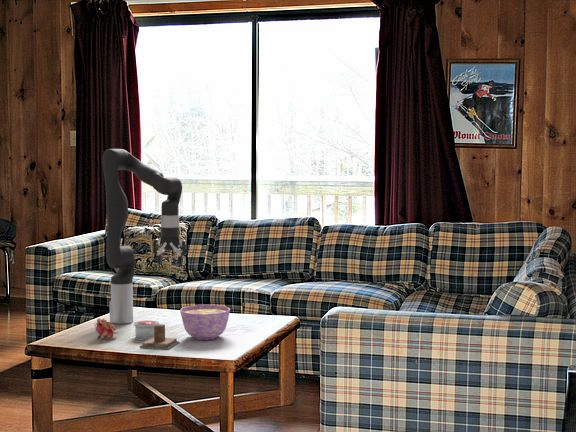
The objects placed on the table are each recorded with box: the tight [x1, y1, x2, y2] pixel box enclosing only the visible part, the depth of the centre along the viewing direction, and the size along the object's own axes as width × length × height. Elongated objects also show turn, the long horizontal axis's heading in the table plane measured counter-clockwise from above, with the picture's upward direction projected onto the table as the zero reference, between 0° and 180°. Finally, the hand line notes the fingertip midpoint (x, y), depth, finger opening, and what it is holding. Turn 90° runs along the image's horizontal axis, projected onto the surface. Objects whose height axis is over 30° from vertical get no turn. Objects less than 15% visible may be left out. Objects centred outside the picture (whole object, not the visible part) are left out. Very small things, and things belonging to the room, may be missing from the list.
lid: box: [141, 323, 178, 347], centre depth 323 cm, size 10×10×7 cm
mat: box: [139, 340, 180, 350], centre depth 323 cm, size 12×11×1 cm
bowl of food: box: [179, 304, 231, 341], centre depth 335 cm, size 20×20×12 cm
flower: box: [94, 318, 119, 340], centre depth 334 cm, size 10×9×8 cm
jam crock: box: [133, 319, 160, 341], centre depth 336 cm, size 10×10×6 cm
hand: (170, 264), depth 348 cm, fingers open, 8 cm apart
